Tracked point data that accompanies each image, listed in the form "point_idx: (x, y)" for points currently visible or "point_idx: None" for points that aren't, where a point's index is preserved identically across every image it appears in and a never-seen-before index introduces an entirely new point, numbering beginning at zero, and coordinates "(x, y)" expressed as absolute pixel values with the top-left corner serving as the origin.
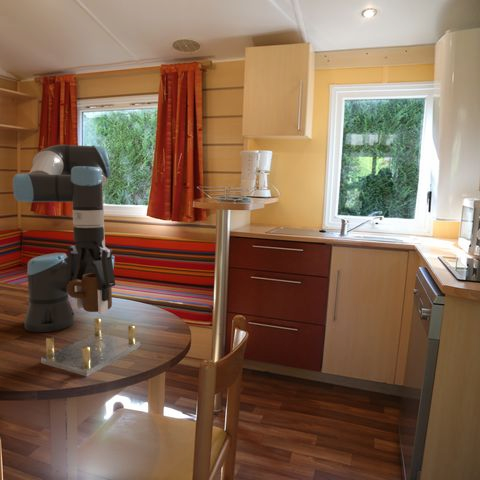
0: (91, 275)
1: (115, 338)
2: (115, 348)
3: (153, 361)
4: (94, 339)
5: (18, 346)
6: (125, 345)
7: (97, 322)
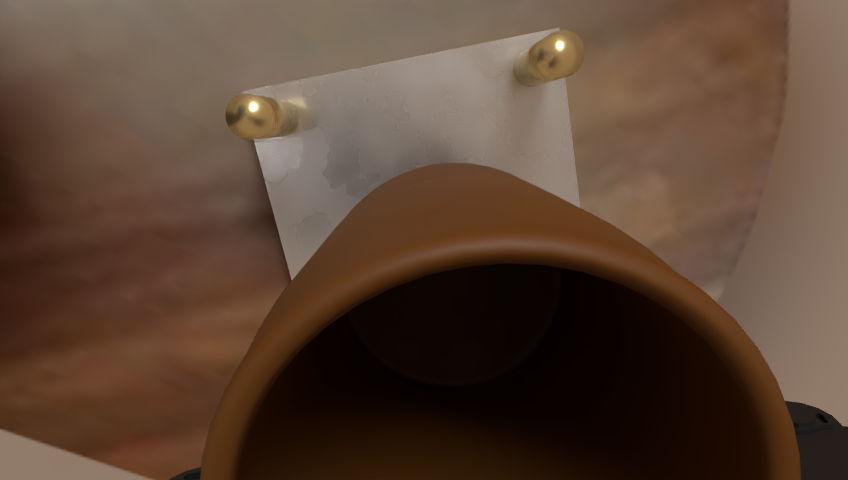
0: (243, 449)
1: (403, 85)
2: (517, 174)
3: (730, 112)
4: (324, 171)
5: (79, 405)
6: (530, 115)
7: (271, 130)
